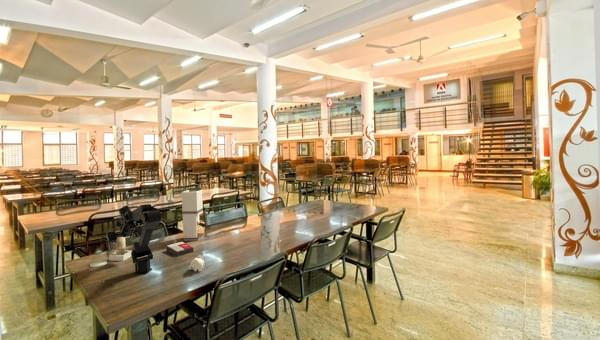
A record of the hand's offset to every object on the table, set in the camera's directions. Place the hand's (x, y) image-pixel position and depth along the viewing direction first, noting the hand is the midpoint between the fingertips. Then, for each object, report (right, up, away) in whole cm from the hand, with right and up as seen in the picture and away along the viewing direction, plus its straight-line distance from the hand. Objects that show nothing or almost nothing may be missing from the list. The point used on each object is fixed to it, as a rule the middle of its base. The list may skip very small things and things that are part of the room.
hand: (122, 241), depth 176 cm
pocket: (-3, -11, +3) cm, 11 cm away
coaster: (-9, -11, -7) cm, 17 cm away
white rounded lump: (+50, -11, -17) cm, 54 cm away
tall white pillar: (+28, -8, +41) cm, 50 cm away
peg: (-3, -11, +3) cm, 11 cm away
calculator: (+29, -10, +13) cm, 33 cm away
